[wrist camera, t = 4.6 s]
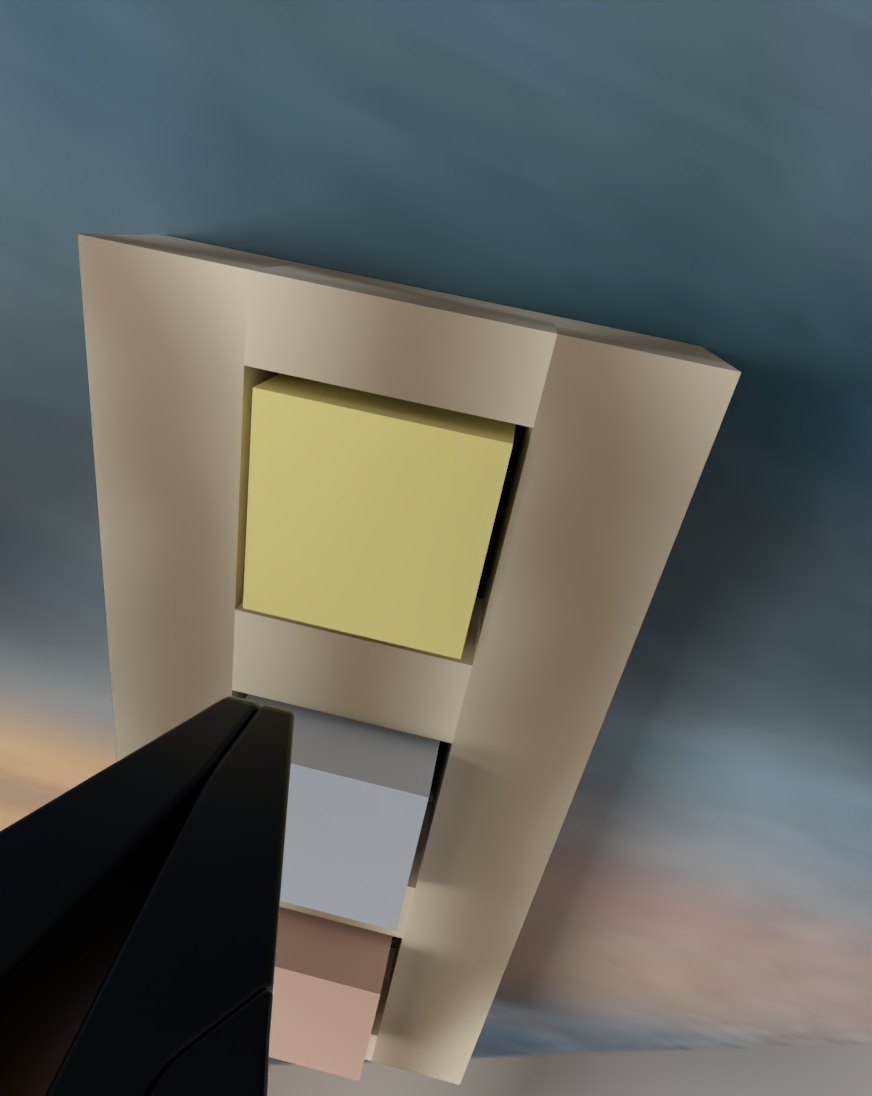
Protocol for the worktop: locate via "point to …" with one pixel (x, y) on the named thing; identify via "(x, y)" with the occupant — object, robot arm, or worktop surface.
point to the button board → (368, 664)
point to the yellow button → (370, 511)
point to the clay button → (325, 992)
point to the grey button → (352, 814)
